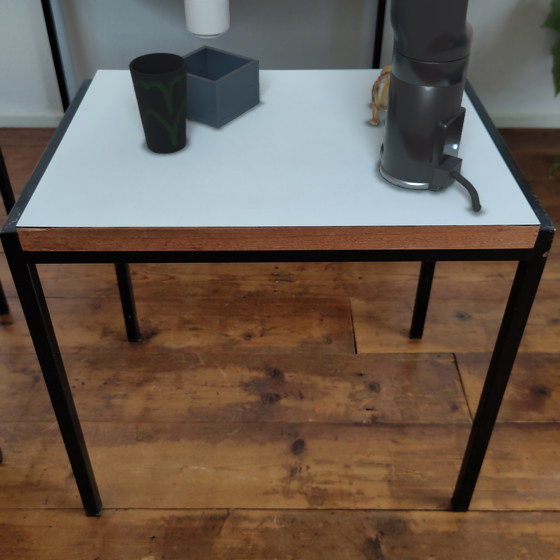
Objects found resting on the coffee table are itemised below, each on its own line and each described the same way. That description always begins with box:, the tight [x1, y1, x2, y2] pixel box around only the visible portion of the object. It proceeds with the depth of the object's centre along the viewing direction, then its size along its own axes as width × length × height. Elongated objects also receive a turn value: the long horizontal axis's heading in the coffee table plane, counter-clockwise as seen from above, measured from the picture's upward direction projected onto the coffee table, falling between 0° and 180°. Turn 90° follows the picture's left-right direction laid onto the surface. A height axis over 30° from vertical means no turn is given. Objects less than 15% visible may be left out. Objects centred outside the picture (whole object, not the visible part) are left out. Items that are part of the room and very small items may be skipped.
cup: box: [128, 52, 187, 155], centre depth 100 cm, size 8×8×12 cm
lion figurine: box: [369, 63, 392, 126], centre depth 109 cm, size 15×5×9 cm, turn 176°
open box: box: [181, 44, 261, 129], centre depth 111 cm, size 11×11×7 cm
